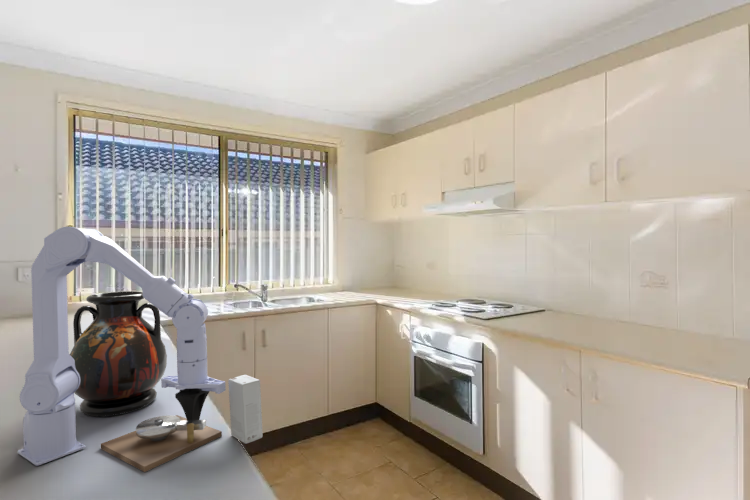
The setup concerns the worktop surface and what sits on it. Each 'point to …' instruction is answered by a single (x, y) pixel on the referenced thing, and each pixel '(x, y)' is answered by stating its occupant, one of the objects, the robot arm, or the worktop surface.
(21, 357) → the worktop surface
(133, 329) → the amphora vase
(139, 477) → the worktop surface
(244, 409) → the skincare box
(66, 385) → the robot arm
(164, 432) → the silver disc with handle
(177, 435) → the base board
